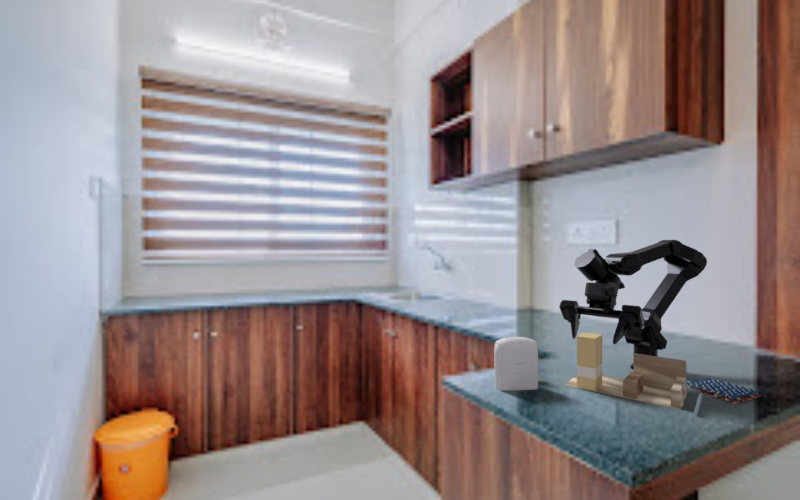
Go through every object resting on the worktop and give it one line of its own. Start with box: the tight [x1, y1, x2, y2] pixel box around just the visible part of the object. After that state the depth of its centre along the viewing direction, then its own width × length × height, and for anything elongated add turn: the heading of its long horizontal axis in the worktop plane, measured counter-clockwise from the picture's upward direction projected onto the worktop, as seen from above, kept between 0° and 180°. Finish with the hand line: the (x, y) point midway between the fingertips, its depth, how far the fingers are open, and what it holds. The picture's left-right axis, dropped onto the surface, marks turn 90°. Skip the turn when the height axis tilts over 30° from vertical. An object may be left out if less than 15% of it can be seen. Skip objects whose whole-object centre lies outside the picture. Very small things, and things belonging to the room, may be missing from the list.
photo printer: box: [493, 336, 539, 392], centre depth 94 cm, size 10×4×12 cm, turn 96°
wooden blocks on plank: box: [563, 353, 688, 411], centre depth 93 cm, size 14×23×8 cm, turn 50°
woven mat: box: [686, 378, 762, 404], centre depth 92 cm, size 10×11×2 cm
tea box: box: [576, 332, 604, 392], centre depth 94 cm, size 6×4×12 cm
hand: (593, 340), depth 97 cm, fingers open, 9 cm apart
